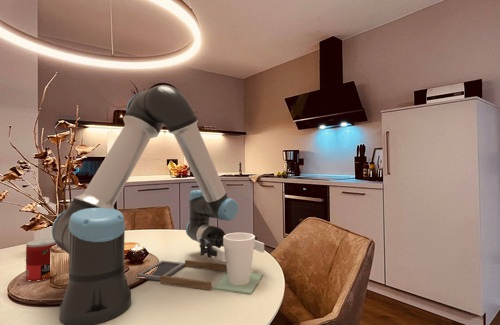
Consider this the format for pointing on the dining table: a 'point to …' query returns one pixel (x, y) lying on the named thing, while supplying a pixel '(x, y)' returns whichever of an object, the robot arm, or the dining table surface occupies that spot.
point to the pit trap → (162, 270)
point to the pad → (244, 289)
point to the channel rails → (191, 282)
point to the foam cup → (239, 256)
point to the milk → (47, 231)
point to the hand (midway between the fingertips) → (244, 252)
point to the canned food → (38, 259)
